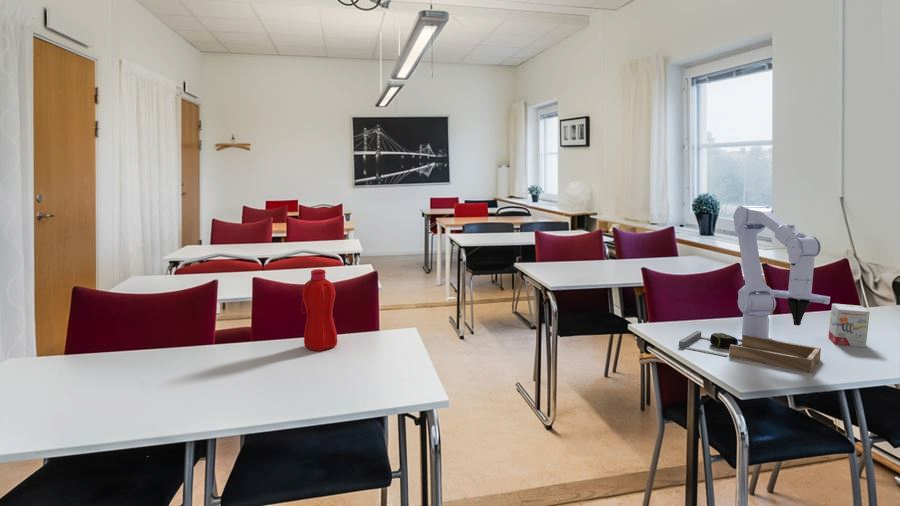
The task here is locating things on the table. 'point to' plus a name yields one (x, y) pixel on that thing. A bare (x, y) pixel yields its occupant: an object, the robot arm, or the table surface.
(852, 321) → the ink box
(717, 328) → the table surface
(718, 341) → the tape measure
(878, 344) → the table surface
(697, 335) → the bay
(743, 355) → the open frame
